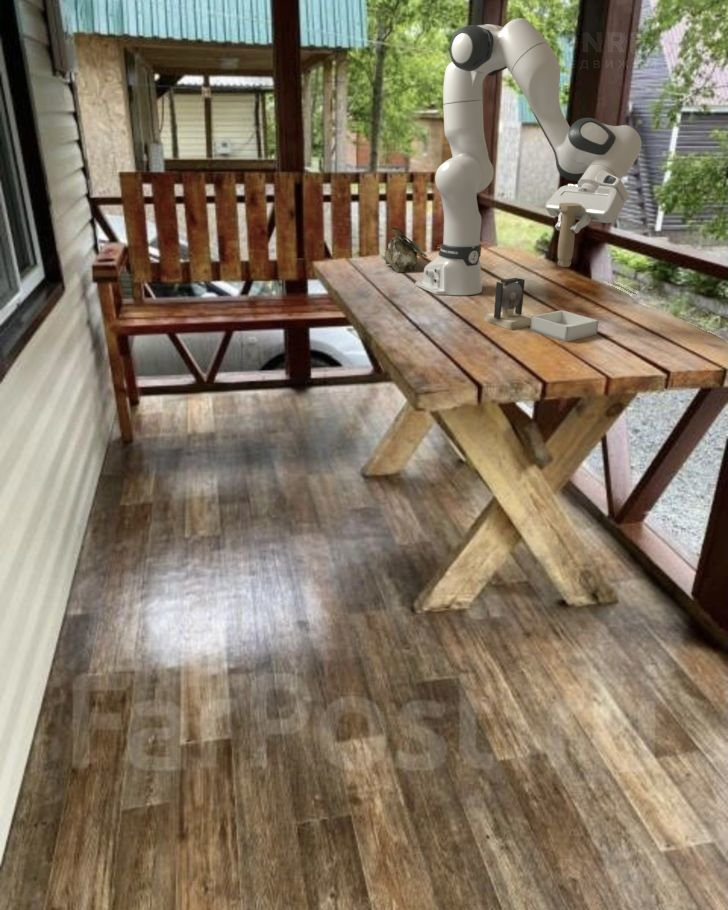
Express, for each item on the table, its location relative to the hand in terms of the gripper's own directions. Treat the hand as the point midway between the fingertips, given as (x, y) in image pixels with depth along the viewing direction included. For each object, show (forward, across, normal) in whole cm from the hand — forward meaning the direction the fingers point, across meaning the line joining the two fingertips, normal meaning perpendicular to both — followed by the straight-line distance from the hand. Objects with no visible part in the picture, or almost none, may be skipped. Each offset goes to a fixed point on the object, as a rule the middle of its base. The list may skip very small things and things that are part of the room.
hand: (565, 230), depth 183 cm
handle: (+6, 0, +7) cm, 9 cm away
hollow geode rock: (+6, -85, +27) cm, 90 cm away
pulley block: (+24, -8, +10) cm, 27 cm away
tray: (+20, +6, +14) cm, 25 cm away
